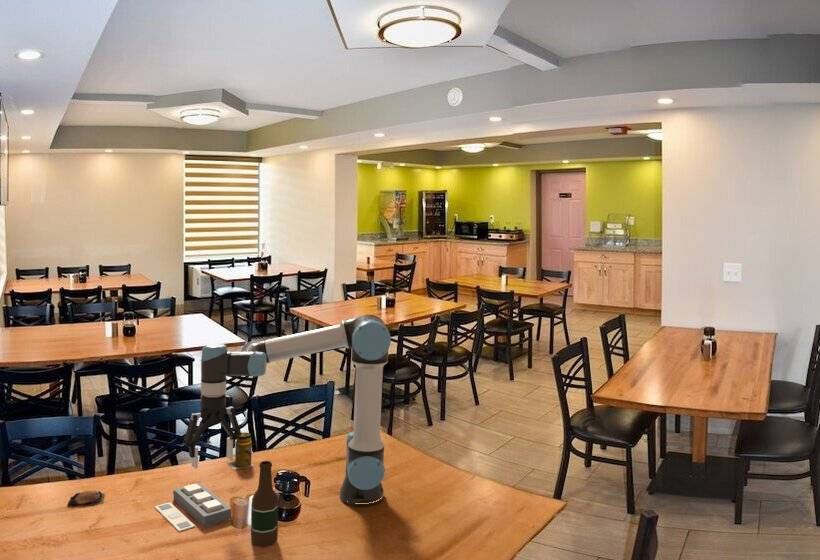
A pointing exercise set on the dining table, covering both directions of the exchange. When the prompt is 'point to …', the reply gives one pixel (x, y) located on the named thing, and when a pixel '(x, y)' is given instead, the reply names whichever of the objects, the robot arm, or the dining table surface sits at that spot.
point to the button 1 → (191, 489)
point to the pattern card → (175, 516)
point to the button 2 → (211, 506)
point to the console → (197, 511)
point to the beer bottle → (264, 509)
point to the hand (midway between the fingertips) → (212, 462)
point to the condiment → (242, 452)
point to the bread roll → (86, 499)
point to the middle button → (201, 497)
